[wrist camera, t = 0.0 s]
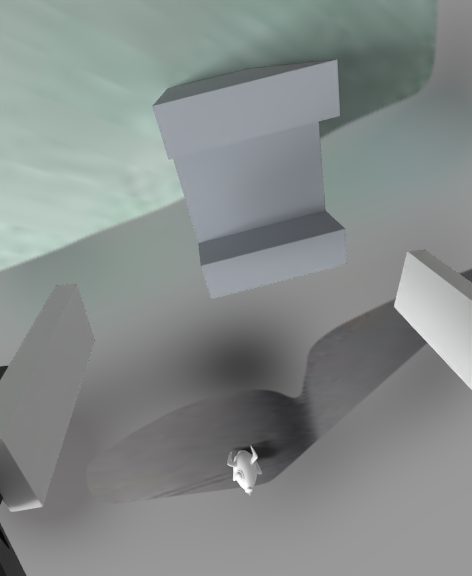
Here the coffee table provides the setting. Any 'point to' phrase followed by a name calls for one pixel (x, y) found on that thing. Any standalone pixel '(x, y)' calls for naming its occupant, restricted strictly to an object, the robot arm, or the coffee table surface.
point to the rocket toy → (245, 469)
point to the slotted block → (255, 172)
